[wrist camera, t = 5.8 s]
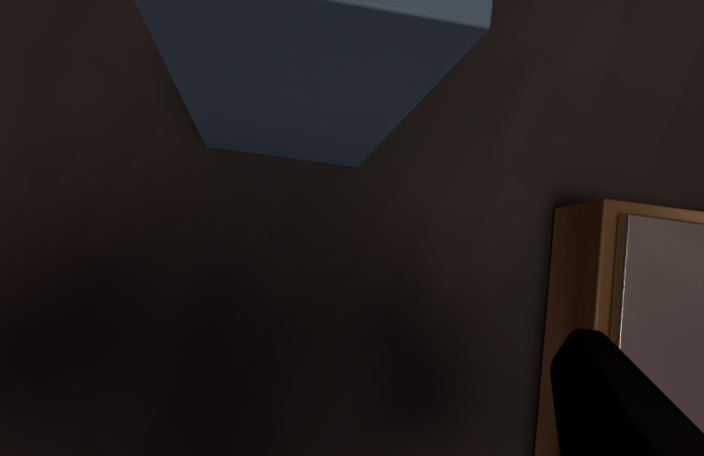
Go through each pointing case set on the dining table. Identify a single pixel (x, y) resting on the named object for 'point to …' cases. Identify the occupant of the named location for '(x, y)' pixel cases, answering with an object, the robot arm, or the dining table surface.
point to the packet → (308, 68)
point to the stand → (629, 297)
